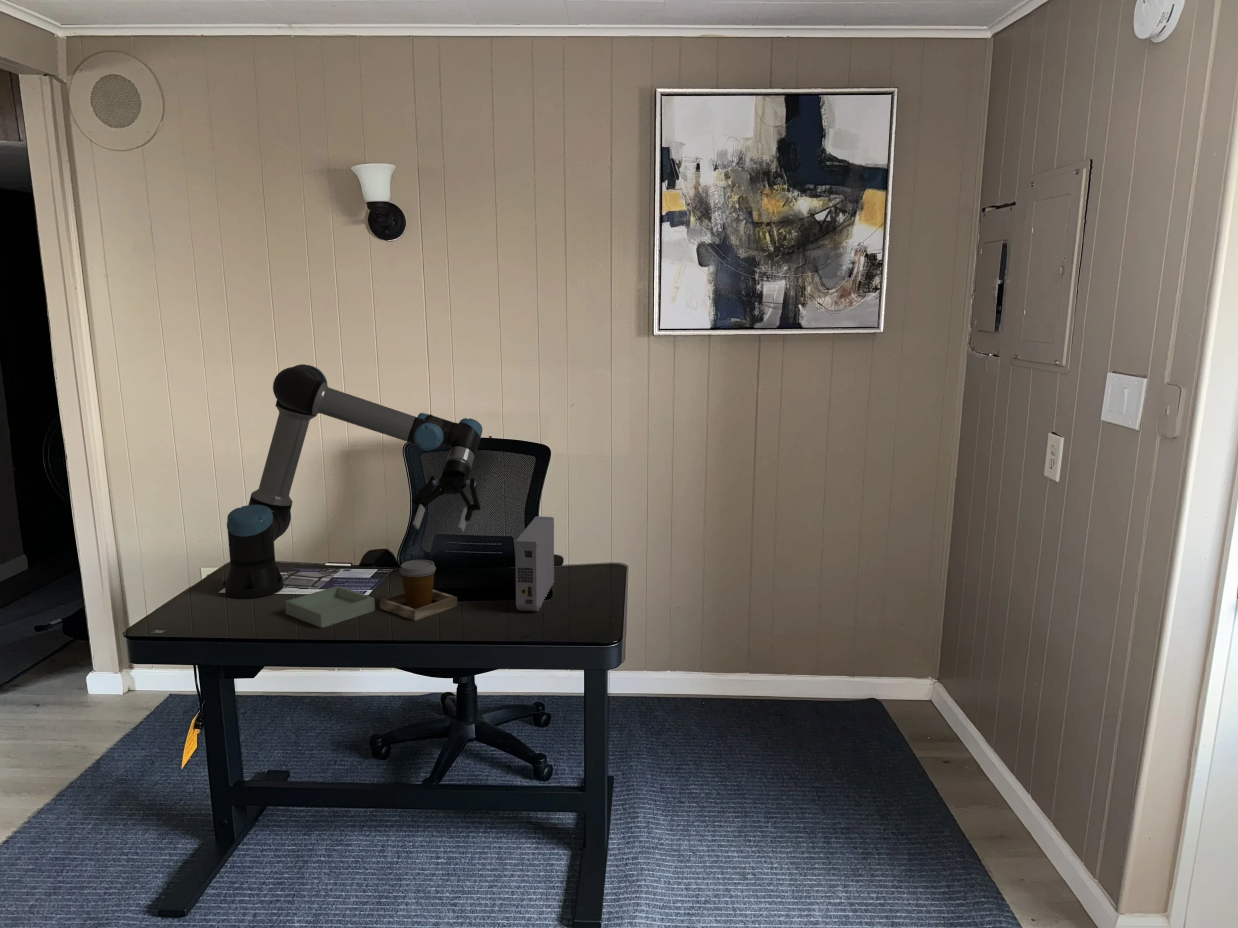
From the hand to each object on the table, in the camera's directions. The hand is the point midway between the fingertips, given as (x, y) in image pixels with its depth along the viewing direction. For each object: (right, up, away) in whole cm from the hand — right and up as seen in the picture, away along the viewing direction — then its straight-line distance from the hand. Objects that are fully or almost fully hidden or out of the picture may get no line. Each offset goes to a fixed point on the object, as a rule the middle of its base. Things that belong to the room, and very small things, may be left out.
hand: (438, 528), depth 232 cm
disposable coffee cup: (-3, -21, -8) cm, 23 cm away
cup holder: (-3, -21, -8) cm, 22 cm away
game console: (+27, -20, +1) cm, 34 cm away
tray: (-26, -21, -12) cm, 35 cm away
